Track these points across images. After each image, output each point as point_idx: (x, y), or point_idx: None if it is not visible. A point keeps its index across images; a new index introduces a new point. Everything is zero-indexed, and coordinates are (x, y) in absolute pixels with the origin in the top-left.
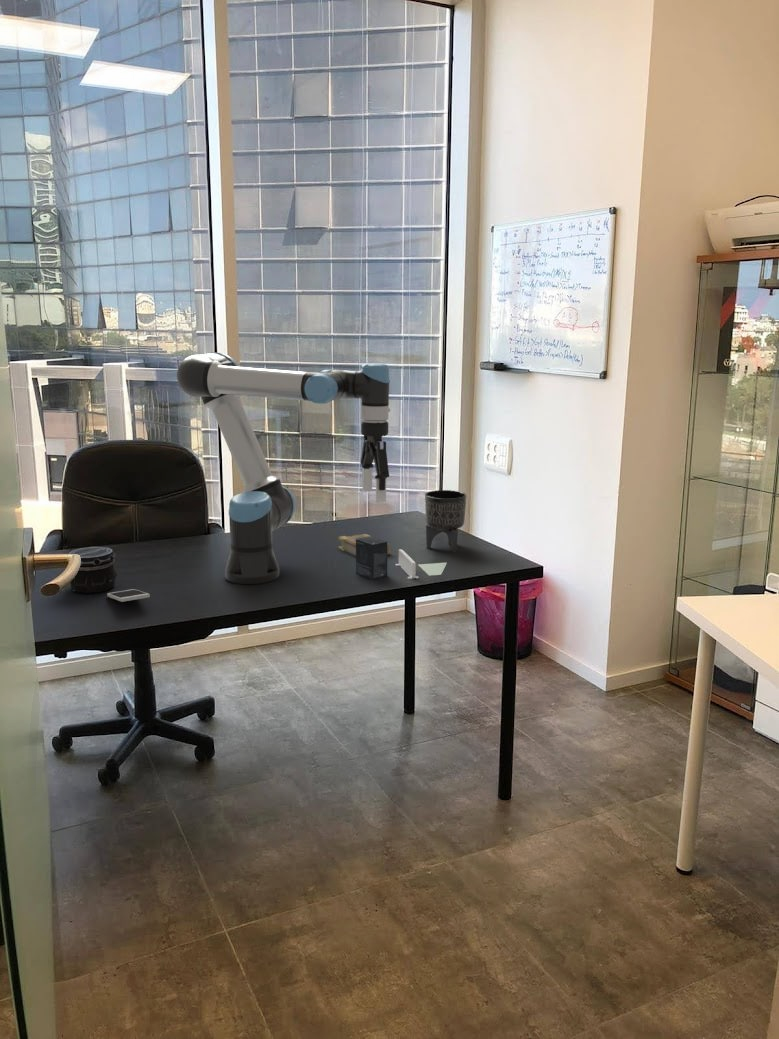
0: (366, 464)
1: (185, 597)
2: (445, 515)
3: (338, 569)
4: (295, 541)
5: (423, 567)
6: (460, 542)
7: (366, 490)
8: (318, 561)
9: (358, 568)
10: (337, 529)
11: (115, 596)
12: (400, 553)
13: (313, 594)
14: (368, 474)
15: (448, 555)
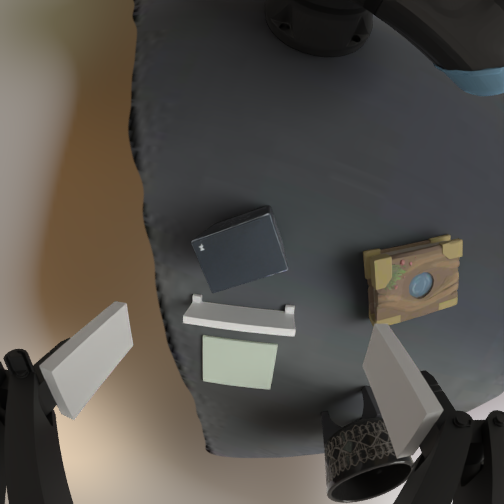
0: (427, 457)
1: None
2: (333, 456)
3: (315, 178)
4: (500, 175)
5: (255, 347)
6: None
7: (371, 342)
8: (386, 158)
9: (259, 209)
10: None
11: None
12: (280, 325)
13: (168, 91)
14: (397, 412)
15: (315, 404)
